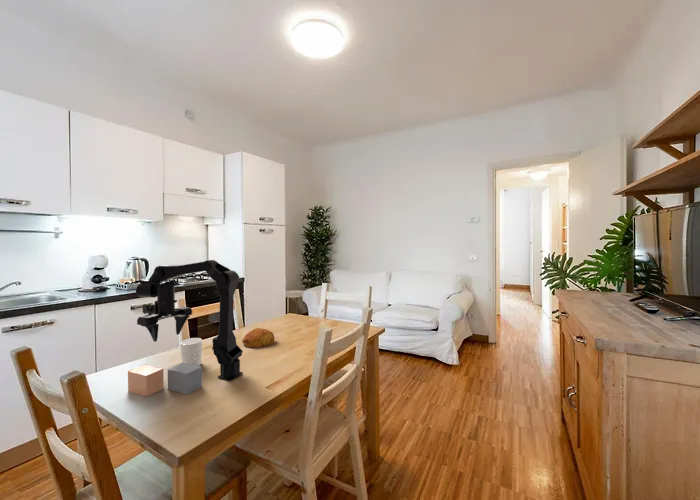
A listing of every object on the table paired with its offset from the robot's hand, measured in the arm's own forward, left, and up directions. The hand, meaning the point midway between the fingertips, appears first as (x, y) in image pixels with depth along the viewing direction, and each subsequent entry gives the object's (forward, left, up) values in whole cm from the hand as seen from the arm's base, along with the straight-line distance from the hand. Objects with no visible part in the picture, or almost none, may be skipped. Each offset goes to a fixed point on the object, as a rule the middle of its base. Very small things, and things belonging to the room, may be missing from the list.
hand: (166, 337), depth 117 cm
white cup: (-3, -8, -14) cm, 16 cm away
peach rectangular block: (-6, +13, -14) cm, 19 cm away
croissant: (-11, -40, -14) cm, 44 cm away
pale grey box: (-17, +7, -14) cm, 23 cm away
